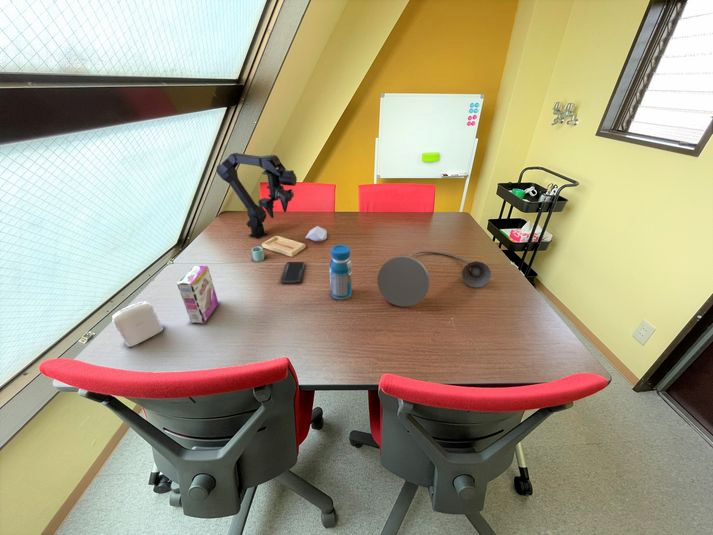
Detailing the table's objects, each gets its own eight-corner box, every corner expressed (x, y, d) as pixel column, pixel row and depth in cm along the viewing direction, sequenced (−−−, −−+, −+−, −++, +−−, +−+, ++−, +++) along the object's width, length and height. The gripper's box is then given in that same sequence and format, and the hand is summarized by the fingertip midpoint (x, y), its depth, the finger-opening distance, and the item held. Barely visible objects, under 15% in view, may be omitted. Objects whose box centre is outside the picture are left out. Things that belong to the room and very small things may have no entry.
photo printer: (129, 349, 88) (111, 319, 81) (124, 342, 90) (106, 312, 83) (165, 330, 94) (151, 301, 88) (160, 324, 97) (146, 295, 90)
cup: (251, 259, 133) (249, 250, 130) (258, 254, 137) (257, 245, 134) (259, 262, 131) (257, 252, 128) (266, 257, 135) (265, 248, 132)
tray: (262, 247, 143) (261, 243, 142) (276, 239, 151) (276, 235, 150) (291, 256, 135) (291, 253, 134) (305, 247, 143) (305, 243, 142)
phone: (280, 281, 117) (287, 261, 129) (281, 283, 117) (287, 264, 130) (300, 281, 117) (304, 261, 129) (300, 283, 117) (305, 264, 130)
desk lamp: (489, 327, 97) (374, 300, 108) (480, 287, 138) (397, 270, 149) (503, 275, 91) (380, 252, 103) (489, 249, 133) (403, 235, 144)
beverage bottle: (335, 302, 108) (334, 256, 97) (327, 290, 114) (324, 246, 103) (355, 296, 111) (356, 251, 100) (346, 285, 117) (346, 241, 106)
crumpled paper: (322, 245, 146) (328, 234, 156) (322, 233, 142) (328, 222, 153) (305, 244, 146) (312, 232, 157) (304, 232, 143) (311, 221, 154)
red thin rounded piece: (274, 242, 145) (290, 235, 142) (275, 242, 146) (291, 235, 143) (276, 255, 143) (293, 248, 140) (277, 255, 143) (294, 248, 141)
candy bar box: (205, 324, 97) (191, 284, 88) (191, 323, 97) (175, 284, 88) (219, 302, 107) (208, 265, 98) (206, 302, 107) (193, 264, 98)
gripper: (273, 192, 126) (278, 224, 135) (300, 181, 140) (303, 212, 149) (255, 187, 131) (260, 219, 139) (283, 178, 145) (286, 207, 153)
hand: (278, 214), depth 145 cm, fingers open, 9 cm apart
